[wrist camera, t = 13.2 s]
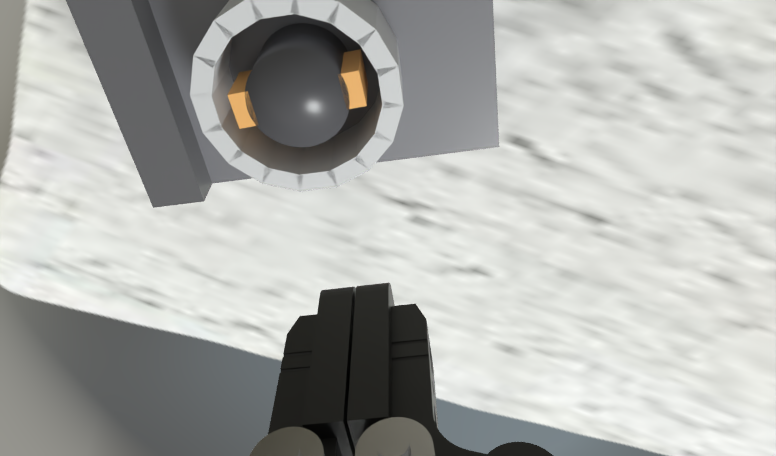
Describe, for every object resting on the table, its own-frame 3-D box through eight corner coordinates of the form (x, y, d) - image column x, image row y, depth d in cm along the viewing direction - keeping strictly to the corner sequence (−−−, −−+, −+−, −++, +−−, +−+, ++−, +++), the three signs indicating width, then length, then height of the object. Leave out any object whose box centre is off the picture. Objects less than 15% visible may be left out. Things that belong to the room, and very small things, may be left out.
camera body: (471, -102, 35) (502, -67, 26) (483, 98, 42) (510, 182, 32) (128, -48, 36) (43, 3, 27) (193, 137, 43) (142, 227, 34)
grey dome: (354, 11, 31) (351, 36, 28) (374, 103, 34) (373, 135, 31) (233, 35, 32) (215, 62, 29) (262, 123, 35) (249, 157, 32)
